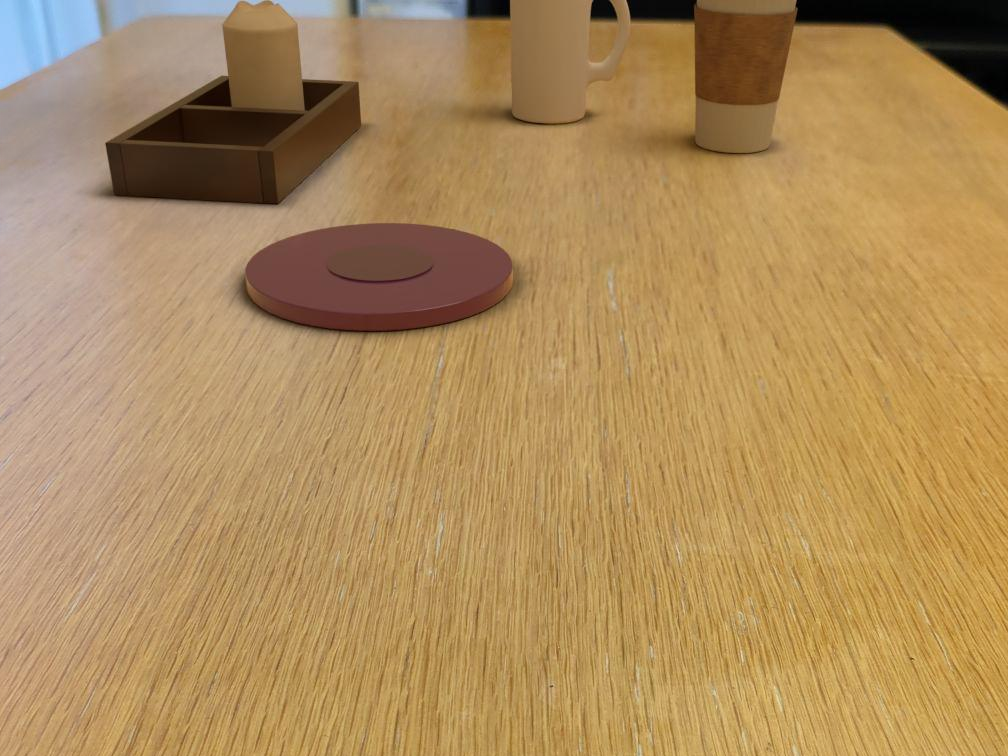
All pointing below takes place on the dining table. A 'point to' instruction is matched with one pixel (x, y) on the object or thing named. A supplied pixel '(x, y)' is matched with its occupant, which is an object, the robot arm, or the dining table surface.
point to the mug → (557, 57)
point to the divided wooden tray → (232, 145)
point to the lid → (379, 276)
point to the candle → (263, 57)
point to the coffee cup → (739, 71)
